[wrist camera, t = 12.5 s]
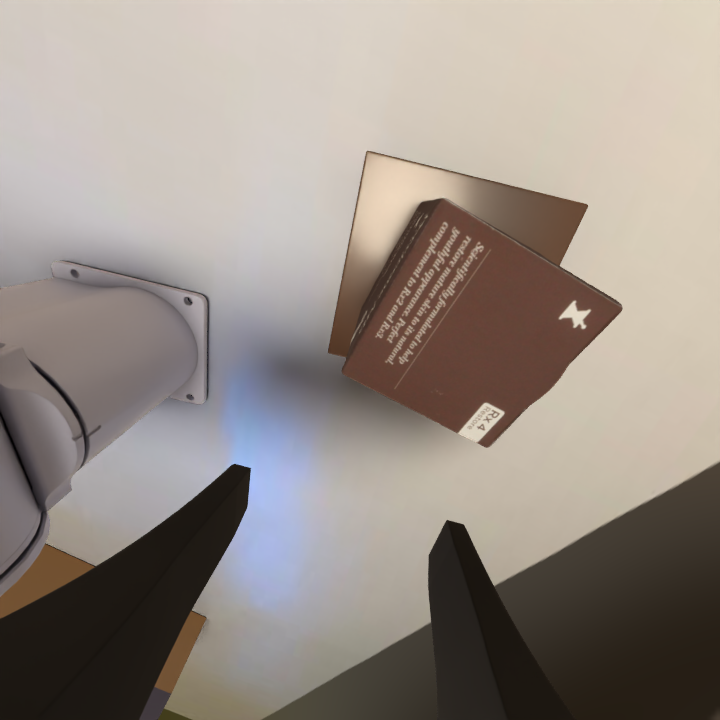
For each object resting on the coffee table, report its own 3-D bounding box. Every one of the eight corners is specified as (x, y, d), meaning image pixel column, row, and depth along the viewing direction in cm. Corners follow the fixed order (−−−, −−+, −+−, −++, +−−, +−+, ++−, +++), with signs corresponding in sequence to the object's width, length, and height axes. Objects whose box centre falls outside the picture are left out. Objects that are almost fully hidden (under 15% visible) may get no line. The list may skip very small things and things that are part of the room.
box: (422, 197, 14) (444, 186, 8) (530, 264, 15) (635, 306, 9) (358, 310, 17) (334, 375, 10) (454, 363, 18) (488, 455, 11)
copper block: (333, 340, 20) (327, 353, 18) (369, 156, 16) (366, 150, 14) (488, 378, 20) (497, 395, 18) (567, 205, 16) (589, 204, 14)
